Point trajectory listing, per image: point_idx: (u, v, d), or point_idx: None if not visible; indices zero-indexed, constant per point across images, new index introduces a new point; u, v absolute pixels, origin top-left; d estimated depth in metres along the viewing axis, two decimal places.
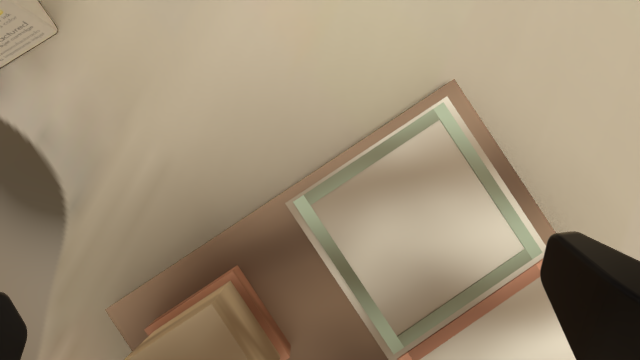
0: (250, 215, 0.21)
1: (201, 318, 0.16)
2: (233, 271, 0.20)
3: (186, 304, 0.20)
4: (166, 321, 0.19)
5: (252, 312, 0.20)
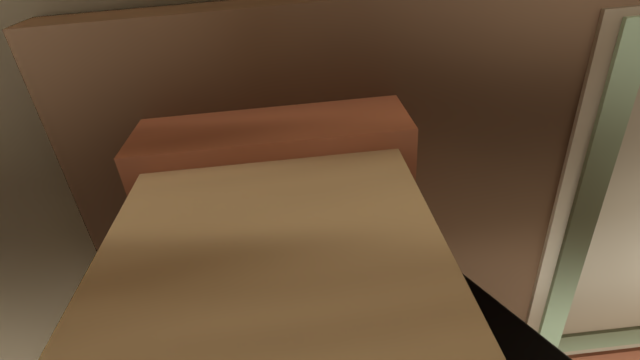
0: None
1: None
2: (415, 128, 0.07)
3: (257, 151, 0.07)
4: (184, 166, 0.07)
5: None
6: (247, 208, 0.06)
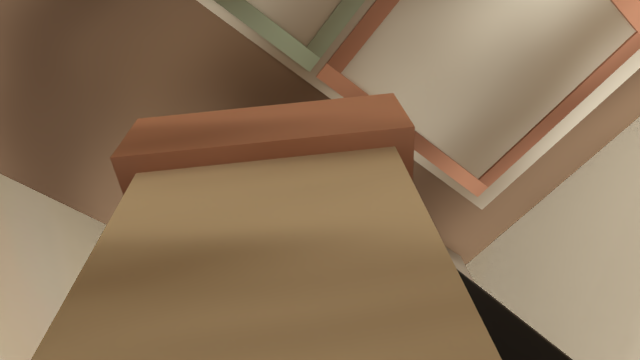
0: None
1: None
2: None
3: (253, 150, 0.07)
4: (180, 165, 0.07)
5: None
6: (243, 207, 0.06)
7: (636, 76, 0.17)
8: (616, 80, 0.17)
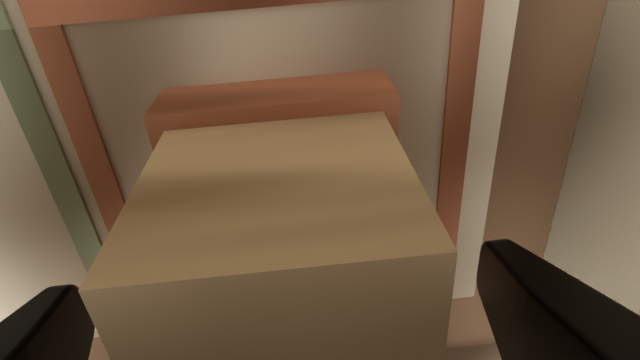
0: None
1: (404, 273, 0.05)
2: None
3: (263, 112, 0.08)
4: (202, 124, 0.08)
5: None
6: (256, 153, 0.07)
7: (526, 27, 0.09)
8: (496, 59, 0.09)
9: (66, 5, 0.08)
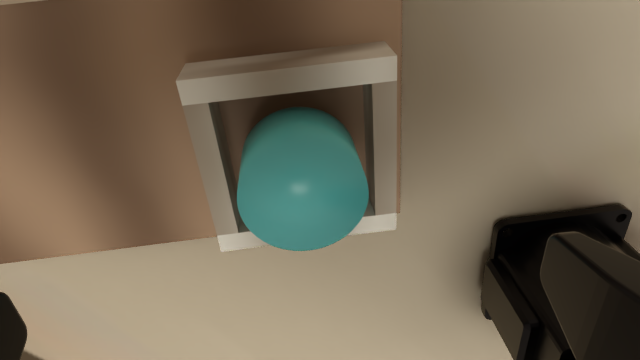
0: None
1: None
2: None
3: None
4: None
5: None
6: None
7: None
8: None
9: None
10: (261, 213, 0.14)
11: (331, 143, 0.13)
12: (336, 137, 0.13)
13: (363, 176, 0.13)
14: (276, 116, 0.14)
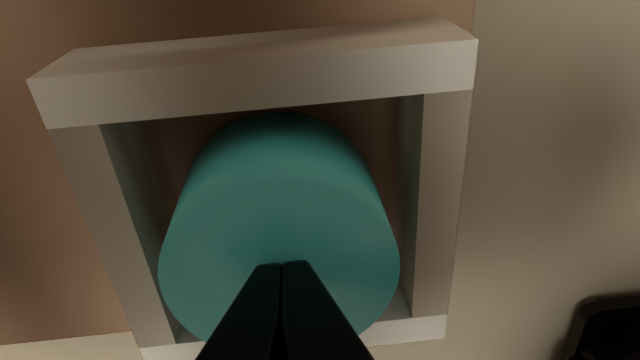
0: None
1: None
2: None
3: None
4: None
5: None
6: None
7: None
8: None
9: None
10: (205, 302, 0.08)
11: (335, 182, 0.07)
12: (343, 169, 0.07)
13: (392, 242, 0.07)
14: (241, 126, 0.08)
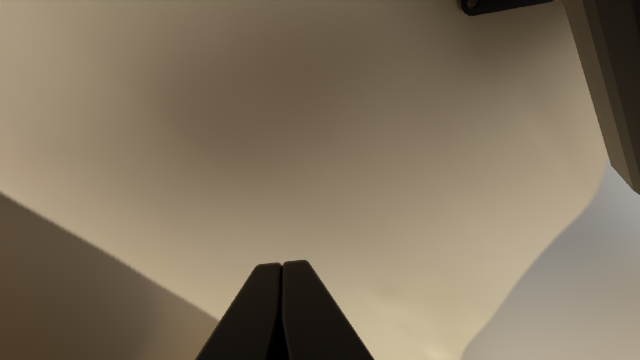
0: None
1: None
2: None
3: None
4: None
5: None
6: None
7: None
8: None
9: None
10: None
11: None
12: None
13: None
14: None
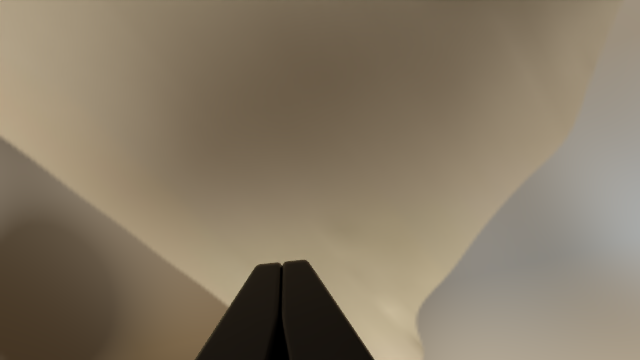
0: None
1: None
2: None
3: None
4: None
5: None
6: None
7: None
8: None
9: None
10: None
11: None
12: None
13: None
14: None
